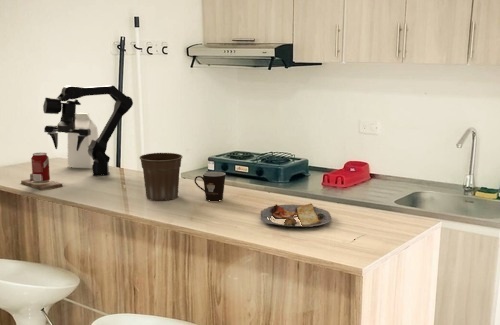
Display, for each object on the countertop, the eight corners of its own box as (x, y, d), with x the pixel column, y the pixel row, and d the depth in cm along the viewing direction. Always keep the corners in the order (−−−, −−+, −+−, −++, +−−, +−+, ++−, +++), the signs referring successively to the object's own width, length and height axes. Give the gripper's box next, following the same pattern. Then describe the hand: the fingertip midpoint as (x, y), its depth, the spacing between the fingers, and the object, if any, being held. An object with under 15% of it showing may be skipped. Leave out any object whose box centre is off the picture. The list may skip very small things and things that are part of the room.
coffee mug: (230, 199, 213) (230, 173, 211) (213, 203, 207) (213, 177, 205) (209, 194, 221) (209, 169, 219) (193, 198, 215) (192, 172, 213)
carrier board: (21, 183, 238) (20, 173, 237) (41, 180, 244) (40, 170, 244) (42, 190, 226) (41, 179, 225) (62, 186, 232) (62, 176, 232)
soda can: (41, 184, 230) (39, 155, 228) (29, 182, 233) (27, 154, 231) (53, 180, 236) (51, 153, 234) (41, 179, 239) (39, 151, 237)
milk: (67, 167, 273) (64, 114, 268) (78, 163, 284) (75, 112, 279) (90, 168, 271) (88, 114, 266) (100, 163, 282) (98, 112, 277)
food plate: (260, 208, 200) (261, 199, 199) (326, 210, 199) (326, 201, 198) (259, 232, 175) (260, 221, 175) (334, 234, 175) (334, 223, 174)
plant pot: (170, 204, 206) (169, 161, 203) (132, 200, 211) (131, 158, 208) (190, 194, 221) (189, 154, 218) (154, 190, 226) (153, 151, 223)
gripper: (40, 113, 236) (39, 150, 238) (85, 117, 237) (83, 153, 239) (49, 112, 247) (47, 147, 249) (91, 116, 248) (89, 151, 250)
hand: (66, 149), depth 246 cm, fingers open, 9 cm apart
